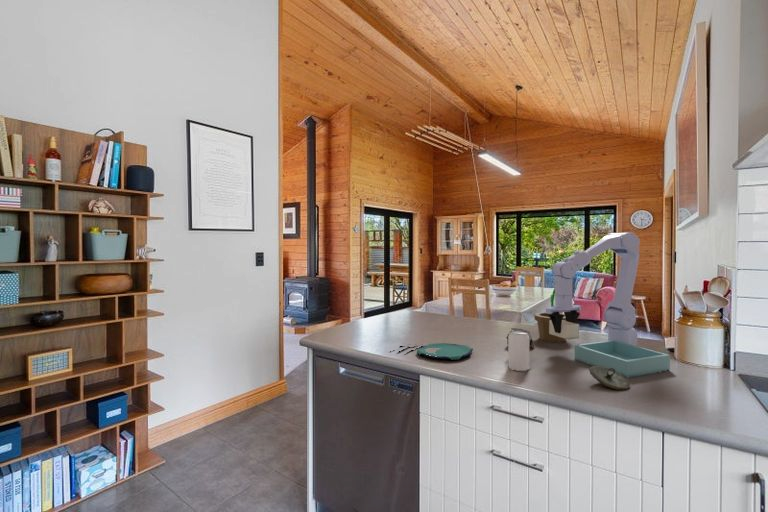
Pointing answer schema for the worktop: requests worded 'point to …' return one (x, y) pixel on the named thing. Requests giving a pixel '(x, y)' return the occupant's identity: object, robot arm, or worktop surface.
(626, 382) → the lid
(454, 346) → the teal platter
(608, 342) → the big tray
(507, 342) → the pottery mug
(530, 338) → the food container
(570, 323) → the small crate
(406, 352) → the worktop surface
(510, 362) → the can
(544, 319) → the flowerpot
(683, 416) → the worktop surface
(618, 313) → the robot arm
